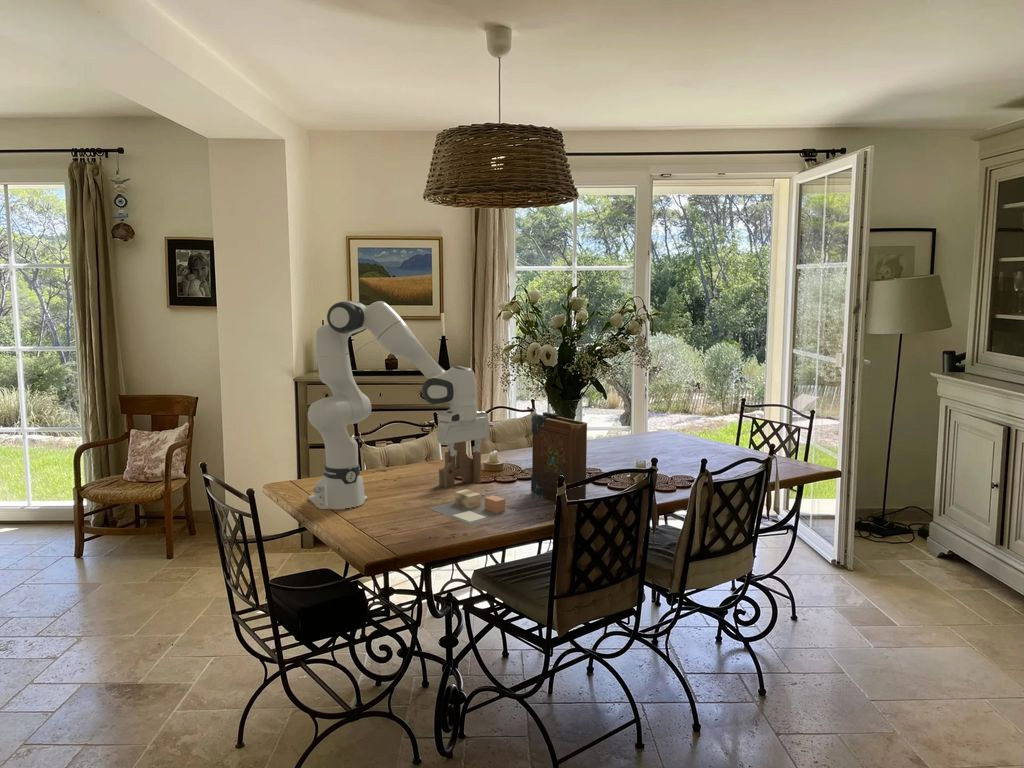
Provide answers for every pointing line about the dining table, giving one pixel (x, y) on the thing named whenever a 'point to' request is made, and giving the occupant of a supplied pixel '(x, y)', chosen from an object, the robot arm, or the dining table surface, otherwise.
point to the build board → (469, 512)
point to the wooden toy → (460, 467)
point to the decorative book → (558, 455)
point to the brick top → (495, 504)
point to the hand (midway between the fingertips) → (464, 454)
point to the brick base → (467, 498)
